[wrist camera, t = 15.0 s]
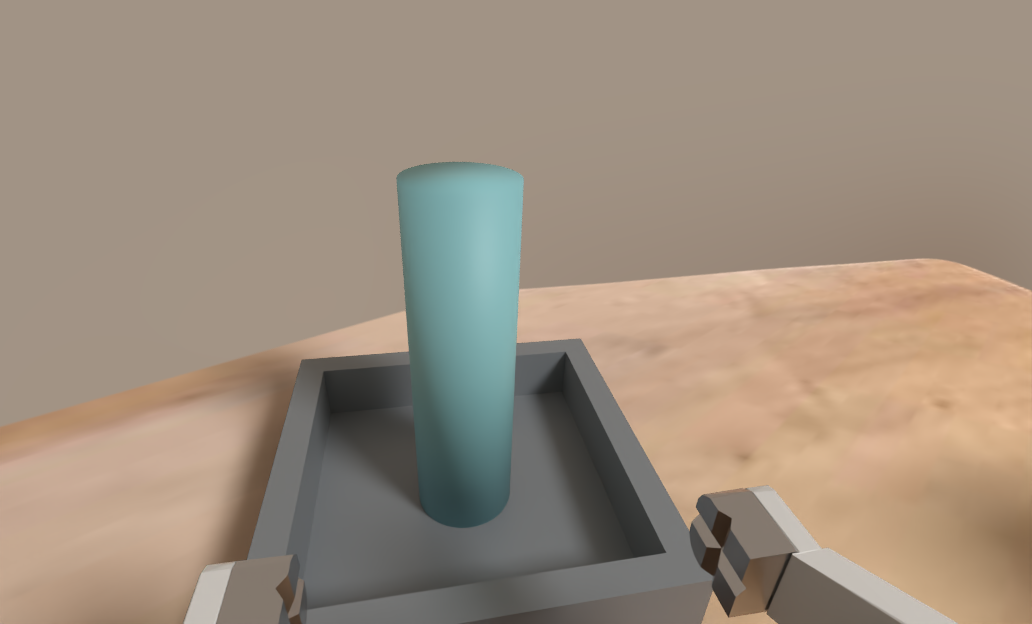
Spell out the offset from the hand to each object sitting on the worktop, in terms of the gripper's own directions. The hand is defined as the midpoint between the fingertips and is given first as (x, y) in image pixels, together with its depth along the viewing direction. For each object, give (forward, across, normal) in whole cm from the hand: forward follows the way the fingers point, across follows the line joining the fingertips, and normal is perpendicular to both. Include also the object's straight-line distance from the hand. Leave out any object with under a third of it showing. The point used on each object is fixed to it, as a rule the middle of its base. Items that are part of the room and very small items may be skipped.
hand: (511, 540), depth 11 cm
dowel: (+10, 0, +9) cm, 14 cm away
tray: (+10, 0, +10) cm, 14 cm away
